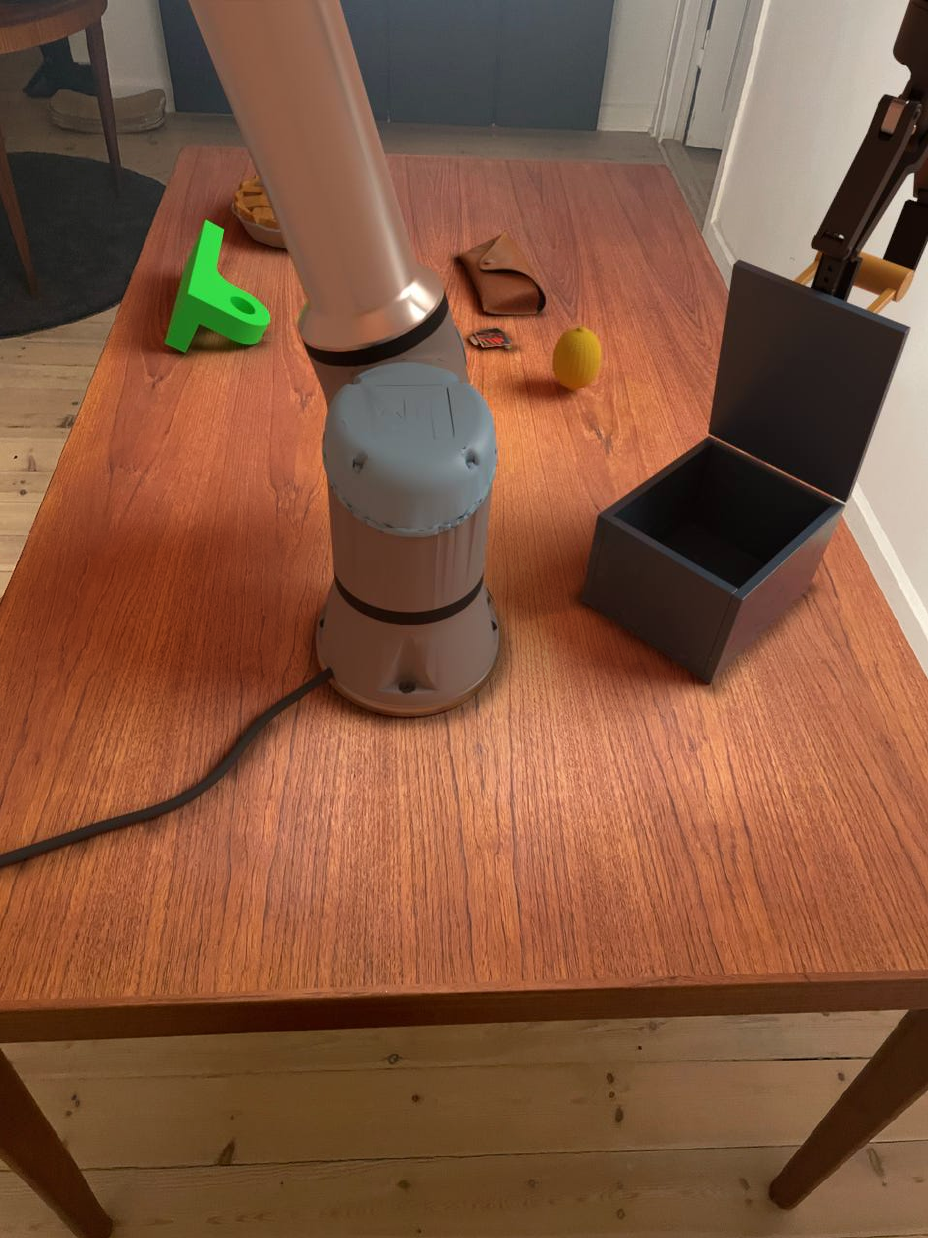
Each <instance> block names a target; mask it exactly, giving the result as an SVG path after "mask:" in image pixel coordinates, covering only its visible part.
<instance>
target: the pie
mask: <svg viewBox="0 0 928 1238" xmlns="http://www.w3.org/2000/svg"><path fill="white" fill-rule="evenodd" d="M230 207H231V208H230V211H231V212H232V213H233V214H234V215H235V216H236V217H237V219H239V221H240V223H241V224H242V226H243V228H244V229H245V231H246V232H247V234H249V236H250V237H251V238H252V239H253V241H255V242H259V243H261V244H265V245H266V246H270V247H272V248H280V249H286V250H287V248H286V245H285V243H284V240H283V238H282V235H281V232H280V230H279V227H278V225H277V222H276V220H275V217H274V215H273V212H272V210H271V207H270V205H269V202H268V200H267V197H266V195H265V192H264V190H263V187H262V185H261V182H260V180H259V177H258V175H257V174H255V175H254V176H253V179H252V180H248V179H244V180H243V181H241V182H240V183H239V185H238V190H236V191H233V193H232V197H231V206H230Z"/></svg>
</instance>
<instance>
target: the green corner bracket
mask: <svg viewBox="0 0 928 1238" xmlns="http://www.w3.org/2000/svg"><path fill="white" fill-rule="evenodd" d="M224 232H225V229H224V228H222V227H220V226H219V225H217V224H214V223H213V222H211V221H209V220H207V219H205V220H204V221H203V225H202V226H201V229H200V231H199V233H198V235H197V238H196V240H195V242H194V244H193V246H192V248H191V252H190V254H189V256H188V258H187V261H186V264H185V267H184V269H183V272H182V275H181V279H180V282H179V286H178V290H177V294H176V297H175V302H174V305H173V310H172V313H171V317H170V321H169V325H168V329H167V333H166V336H165V340H164V344H165V345H167V346H170V347H172V348H174V349H175V350H178V351H180V352H182V353H185V354H186V352H187V350H188V348H189V346H190V344H191V342H192V340H193V338H194V336H195V334H196V332H197V330H198V328H199V325H201V326H202V327H205V328H207V329H209V330H211V331H214V332H215V333H218V334H219V335H221V336H224V337H225V338H227V339H229V340H231V341H233V342H236V343H239V344H243V345H250V346H251V345H255V344H258V343H259V342H260V341H261V338H262V337H263V335H264V333H265V331H266V329H267V328H268V326H269V324H270V322H271V315H270V312H269V311H268V309H267V307H266V306H265V305H264V304H263V303H262V302H261V301H260V300H259V299H257V298H256V297H255V296H253V295H252V294H251V293H249V292H247V291H245V290H243V289H241V288H239V287H238V286H236V285H233V284H232V283H230V282H229V281H228V280H227V279H225V278H224V277H223V276H222V275H221V274H220V273H219V271H218V262H219V258H220V252H221V247H222V242H223V238H224Z"/></svg>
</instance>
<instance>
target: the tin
mask: <svg viewBox="0 0 928 1238" xmlns="http://www.w3.org/2000/svg"><path fill="white" fill-rule="evenodd" d="M845 508H846V503H844V502H842V501H840V500H839V501H838V500H837V499H836V498H834V497H832V496H830V495H828V494H826V493H824V492H822V491H820V490H818V489H816V488H814V487H812V486H810V485H808V484H806V483H804V482H802V481H800V480H798V479H796V478H794V477H792V476H790V475H788V474H787V473H785V472H783V471H781V470H779V469H777V468H775V467H773V466H771V465H770V466H769V464H767V463H765V462H763V461H761V460H759V459H757V458H755V457H753V456H751V455H749V454H747V453H745V452H743V451H741V450H739V449H737V448H735V447H733V446H731V445H729V444H727V443H725V442H723V441H721V440H719V439H718V438H716V437H714V436H712V435H708V436H706V437H705V438H704V439H702V440H701V441H699V442H697V444H695V445H694V446H692V447H691V448H690V449H688V450H687V451H685V452H684V453H683V454H681V455H680V456H678V457H677V458H675V459H674V460H673V461H671V462H670V463H669V464H667V465H666V466H665V467H663V468H662V469H660V470H658V471H657V472H656V473H655V474H653V475H652V476H651V477H649V478H647V479H646V480H645V481H643V482H642V483H641V484H639V485H637V486H636V487H635V488H633V489H632V490H631V491H629V492H628V493H627V494H625V495H623V496H622V497H621V498H619V499H618V500H616V501H615V502H614V503H612V504H611V505H609V506H608V507H607V508H605V509H603V511H601V512H600V513H598V514H597V517H596V523H595V527H594V532H593V537H592V542H591V546H590V552H589V556H588V562H587V567H586V572H585V577H584V582H583V586H582V591H581V595H580V601H581V602H583V603H584V604H586V605H588V606H589V607H591V608H592V609H594V610H595V611H597V612H598V613H600V614H601V615H603V616H604V617H606V618H607V619H609V620H610V621H612V622H613V623H615V624H616V625H618V626H619V627H621V628H623V629H624V630H625V631H627V632H628V633H631V634H632V635H633V636H634V637H636V638H637V639H639V640H641V641H642V642H644V643H646V644H647V645H648V646H650V647H652V648H653V649H655V650H656V651H658V652H659V653H661V654H662V655H664V656H665V657H667V658H668V659H670V660H671V661H673V662H675V663H676V664H677V665H679V666H680V667H682V668H684V669H685V670H687V671H688V672H690V673H691V674H692V675H694V676H696V677H697V678H699V679H700V680H701V681H703V682H705V683H706V684H708V685H712V684H713V682H715V681H716V680H717V679H718V678H719V677H720V676H721V675H722V674H723V673H724V672H725V671H726V670H727V669H728V668H729V667H730V666H731V665H732V664H733V663H734V662H735V661H736V660H737V659H738V658H739V657H741V655H743V653H744V652H746V651H747V649H749V648H750V646H752V645H753V644H754V642H756V640H757V639H759V638H760V637H761V636H762V635H763V634H764V633H765V632H766V631H767V630H768V629H769V628H770V627H771V626H773V624H775V622H776V621H777V620H778V619H779V618H780V617H781V616H782V615H783V614H784V613H785V612H786V611H788V610H789V608H791V606H792V605H794V603H795V602H796V601H798V599H800V597H801V596H802V595H804V593H806V592H807V591H808V590H809V589H810V587H811V584H812V582H813V579H814V577H815V575H816V573H817V570H818V568H819V565H820V564H821V562H822V560H823V557H824V555H825V552H826V551H827V548H828V546H829V543H830V542H831V539H832V537H833V535H834V533H835V531H836V528H837V526H838V524H839V521H840V519H841V517H842V515H843V512H844V510H845Z"/></svg>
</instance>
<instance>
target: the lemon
mask: <svg viewBox="0 0 928 1238" xmlns="http://www.w3.org/2000/svg"><path fill="white" fill-rule="evenodd" d="M602 356H603V355H602V345H601V341H600V339H599V338H598V336H597V334H596V333H594V332H593V331H592V330H591V329H589V328H587V327H585V326H584V325H578V326H574V327H571V328H568V329H567V330H566V331H565V332H563V333H562V334H561V335H560V336H559V338H558V340H557V341H556V344H555V346H554V349H553V354H552V358H551V359H552V360H551V362H552V363H551V365H552V372H553V374H554V377H555V379H556V380H557V382H558V383H559V384H560V385H562V386H563V387H565V388H567V389H568V390H569V391H571V392H574V391H576V390H579V389H580V390H581V389H583V388H585V387H587V386H589V385H590V384H591V383H592V382H594V380H595V379H596V378H597V376H598V375H599V372H600V368H601V365H602V360H603V359H602Z"/></svg>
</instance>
